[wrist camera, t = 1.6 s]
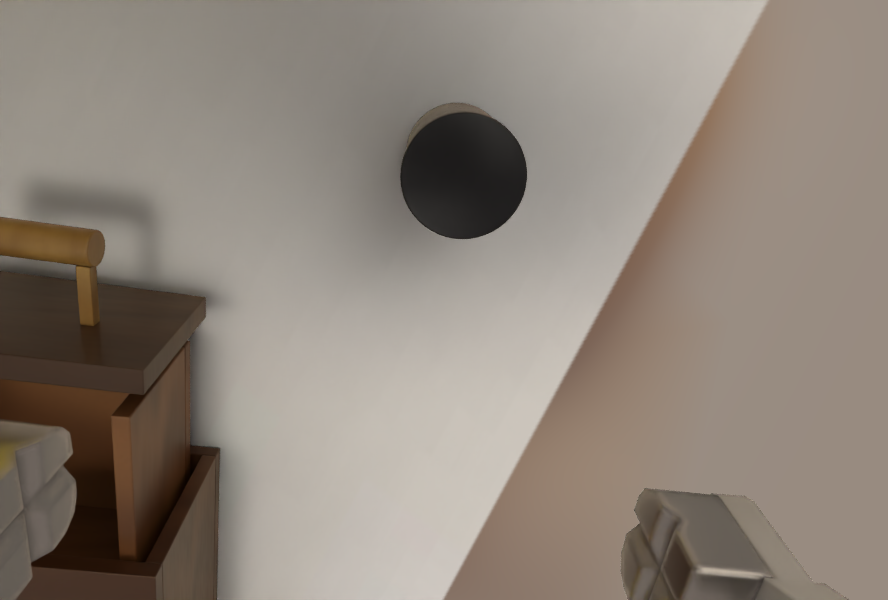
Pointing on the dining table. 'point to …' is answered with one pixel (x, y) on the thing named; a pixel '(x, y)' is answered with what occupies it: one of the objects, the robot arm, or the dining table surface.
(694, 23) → the dining table surface
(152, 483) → the drawer
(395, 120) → the dining table surface
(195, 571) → the cabinet
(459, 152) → the tin
